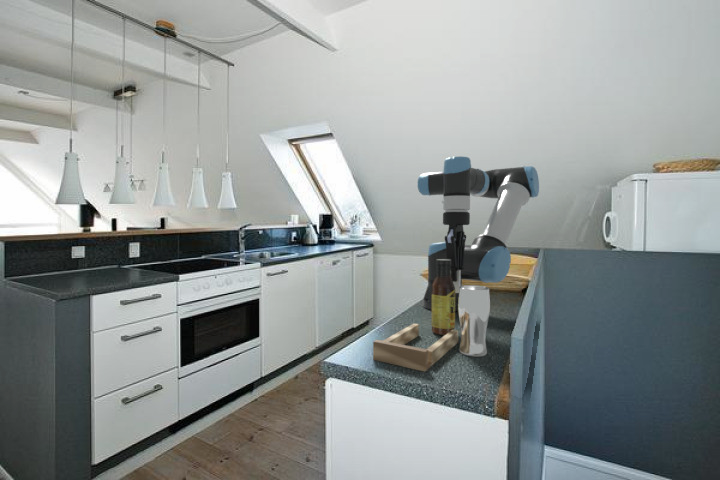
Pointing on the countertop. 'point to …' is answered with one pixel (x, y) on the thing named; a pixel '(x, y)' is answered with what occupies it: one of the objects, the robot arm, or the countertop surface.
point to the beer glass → (473, 319)
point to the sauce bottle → (443, 299)
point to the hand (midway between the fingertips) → (455, 292)
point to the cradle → (412, 349)
